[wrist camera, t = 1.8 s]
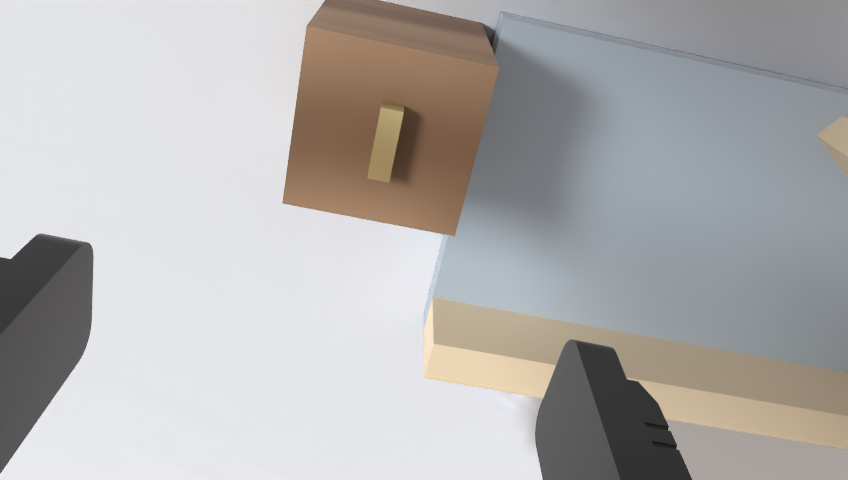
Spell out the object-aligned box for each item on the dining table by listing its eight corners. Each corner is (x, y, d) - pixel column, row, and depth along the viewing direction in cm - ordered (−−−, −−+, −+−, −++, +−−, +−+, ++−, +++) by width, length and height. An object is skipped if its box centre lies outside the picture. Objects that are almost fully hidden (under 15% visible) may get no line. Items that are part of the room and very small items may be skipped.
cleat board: (500, 11, 24) (515, 38, 20) (1094, 144, 26) (1207, 191, 22) (424, 312, 29) (424, 377, 25) (920, 401, 31) (988, 473, 27)
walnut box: (332, -10, 23) (303, 30, 18) (481, 22, 24) (501, 73, 18) (311, 133, 26) (278, 212, 20) (447, 161, 26) (455, 246, 20)
